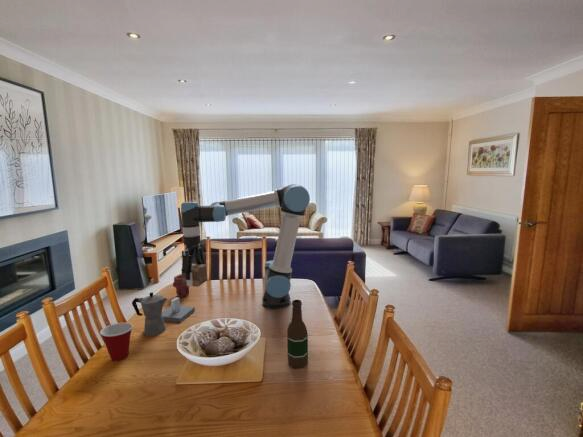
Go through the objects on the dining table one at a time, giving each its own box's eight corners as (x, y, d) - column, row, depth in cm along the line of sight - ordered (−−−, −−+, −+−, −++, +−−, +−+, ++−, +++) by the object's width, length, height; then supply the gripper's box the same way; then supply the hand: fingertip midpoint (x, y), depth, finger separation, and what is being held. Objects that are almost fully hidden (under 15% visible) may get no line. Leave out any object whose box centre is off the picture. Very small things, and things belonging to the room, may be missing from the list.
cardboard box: (192, 279, 141) (191, 263, 140) (207, 280, 140) (206, 263, 138) (182, 285, 134) (181, 268, 132) (198, 286, 132) (196, 269, 131)
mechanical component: (194, 291, 173) (188, 298, 163) (178, 291, 173) (170, 299, 163) (193, 272, 171) (186, 278, 161) (176, 272, 171) (169, 278, 161)
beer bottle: (293, 372, 102) (292, 307, 98) (283, 359, 108) (282, 299, 105) (312, 365, 105) (311, 302, 101) (301, 353, 112) (301, 294, 108)
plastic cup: (142, 350, 115) (139, 322, 113) (118, 368, 105) (114, 337, 103) (121, 346, 119) (118, 318, 117) (96, 362, 109) (92, 332, 107)
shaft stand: (194, 310, 149) (193, 295, 147) (180, 322, 137) (179, 305, 136) (172, 308, 152) (171, 293, 150) (157, 319, 140) (155, 303, 139)
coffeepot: (173, 324, 135) (170, 288, 133) (165, 335, 126) (162, 296, 123) (140, 325, 135) (136, 289, 132) (129, 336, 125) (125, 297, 123)
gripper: (196, 230, 144) (199, 274, 147) (170, 240, 124) (174, 290, 127) (210, 231, 142) (213, 275, 146) (185, 240, 122) (189, 291, 126)
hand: (195, 282), depth 137 cm, fingers closed on cardboard box, 8 cm apart
